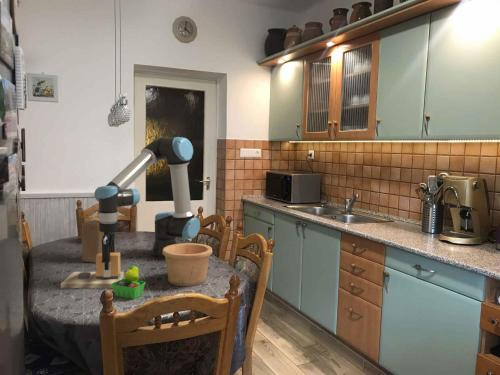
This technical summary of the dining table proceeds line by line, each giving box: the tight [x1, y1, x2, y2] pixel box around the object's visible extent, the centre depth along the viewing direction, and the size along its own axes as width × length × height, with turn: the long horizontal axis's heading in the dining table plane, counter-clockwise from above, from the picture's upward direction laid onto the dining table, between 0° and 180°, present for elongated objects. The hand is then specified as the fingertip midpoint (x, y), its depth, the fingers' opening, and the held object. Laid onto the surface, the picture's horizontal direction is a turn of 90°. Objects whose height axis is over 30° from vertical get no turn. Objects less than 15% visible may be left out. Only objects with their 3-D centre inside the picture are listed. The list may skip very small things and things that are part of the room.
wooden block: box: [81, 220, 104, 264], centre depth 204 cm, size 10×10×20 cm
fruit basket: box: [112, 264, 147, 300], centre depth 158 cm, size 11×9×11 cm
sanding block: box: [95, 251, 121, 279], centre depth 173 cm, size 9×5×10 cm, turn 97°
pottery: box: [162, 242, 213, 287], centre depth 178 cm, size 22×22×14 cm
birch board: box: [60, 271, 125, 289], centre depth 173 cm, size 22×16×2 cm
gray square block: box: [78, 271, 91, 279], centre depth 172 cm, size 4×4×2 cm
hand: (108, 274), depth 173 cm, fingers closed on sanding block, 5 cm apart
